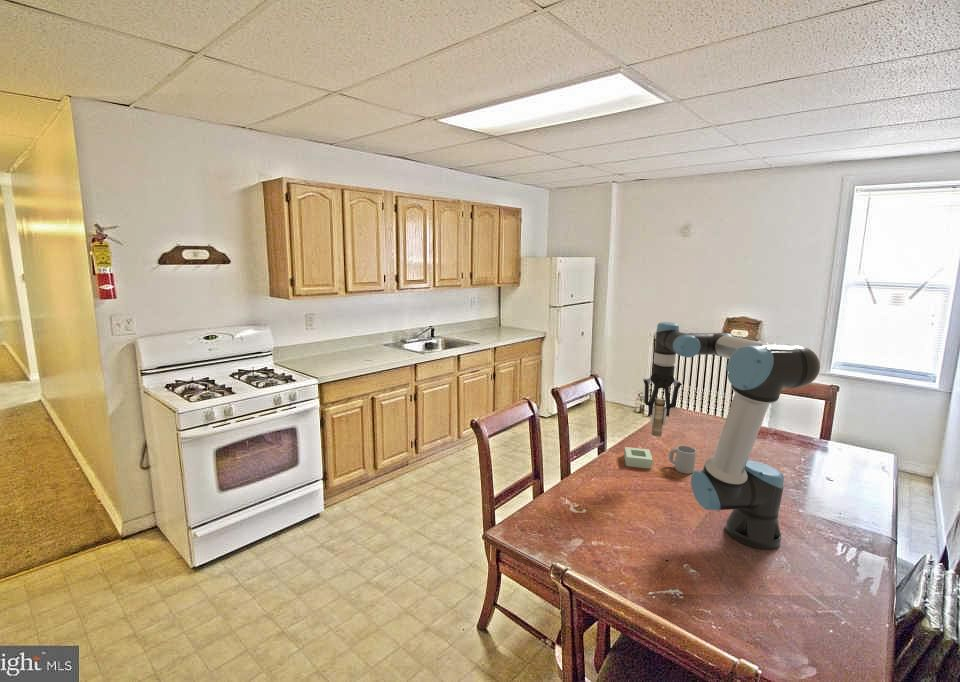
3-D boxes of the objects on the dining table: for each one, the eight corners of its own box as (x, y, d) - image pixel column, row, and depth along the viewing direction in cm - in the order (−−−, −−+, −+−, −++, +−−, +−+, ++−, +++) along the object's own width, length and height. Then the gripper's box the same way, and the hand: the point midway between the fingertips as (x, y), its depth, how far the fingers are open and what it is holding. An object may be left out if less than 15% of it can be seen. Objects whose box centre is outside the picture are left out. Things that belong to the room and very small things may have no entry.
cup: (691, 476, 187) (693, 455, 185) (665, 468, 193) (667, 447, 191) (695, 469, 193) (698, 449, 191) (670, 462, 199) (672, 442, 197)
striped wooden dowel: (662, 437, 180) (666, 401, 177) (652, 436, 180) (655, 400, 178) (660, 433, 183) (664, 398, 180) (650, 432, 184) (654, 397, 181)
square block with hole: (651, 468, 192) (652, 459, 191) (626, 466, 194) (627, 456, 193) (648, 458, 202) (649, 449, 201) (624, 455, 204) (624, 446, 203)
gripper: (685, 363, 178) (678, 422, 183) (639, 359, 181) (633, 417, 186) (690, 368, 171) (682, 429, 176) (641, 364, 174) (636, 424, 179)
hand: (657, 423), depth 181 cm, fingers closed on striped wooden dowel, 3 cm apart
